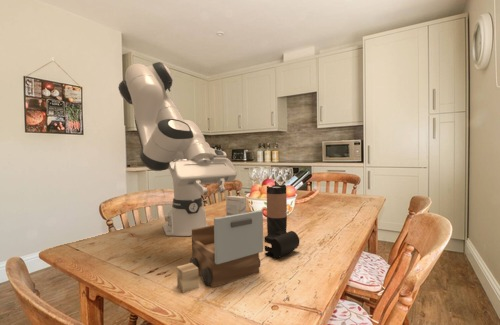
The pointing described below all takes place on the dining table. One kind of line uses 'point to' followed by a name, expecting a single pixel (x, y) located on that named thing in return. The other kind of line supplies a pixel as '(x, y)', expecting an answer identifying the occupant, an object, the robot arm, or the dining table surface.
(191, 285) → the beech block
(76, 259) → the dining table surface
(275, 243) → the end cap
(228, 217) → the tailgate
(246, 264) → the tray
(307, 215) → the dining table surface
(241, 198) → the ink box
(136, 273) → the dining table surface
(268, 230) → the travel mug
